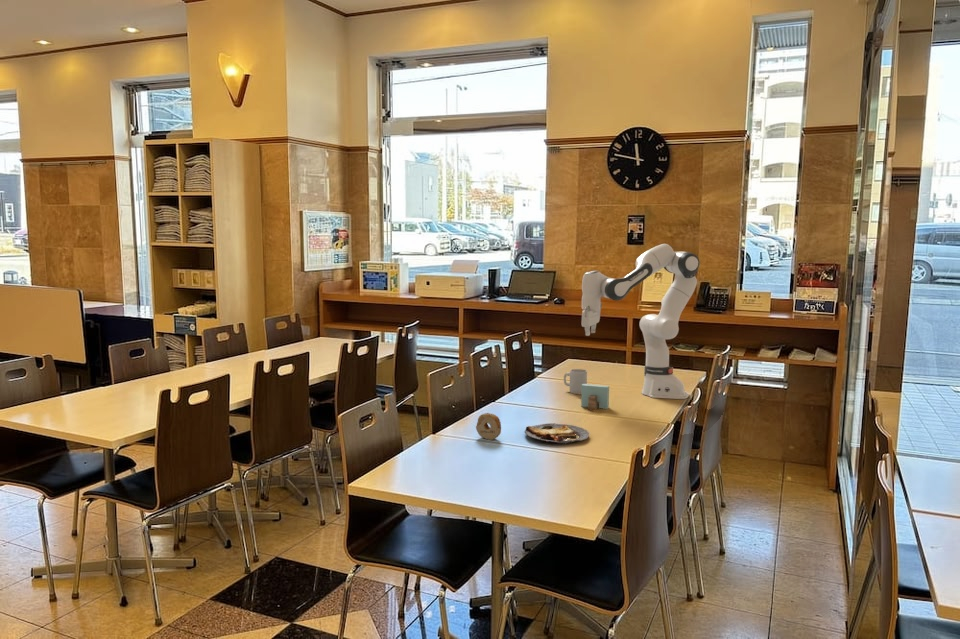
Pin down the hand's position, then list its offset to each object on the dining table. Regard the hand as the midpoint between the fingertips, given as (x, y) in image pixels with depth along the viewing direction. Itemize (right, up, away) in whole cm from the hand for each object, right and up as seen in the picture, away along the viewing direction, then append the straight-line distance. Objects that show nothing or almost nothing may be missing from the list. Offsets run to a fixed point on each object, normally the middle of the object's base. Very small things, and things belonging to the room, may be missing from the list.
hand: (590, 334), depth 328 cm
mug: (-5, -29, +17) cm, 34 cm away
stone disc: (-49, -39, -61) cm, 88 cm away
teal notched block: (0, -33, -13) cm, 35 cm away
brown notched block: (0, -33, -13) cm, 36 cm away
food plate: (-23, -39, -59) cm, 74 cm away
